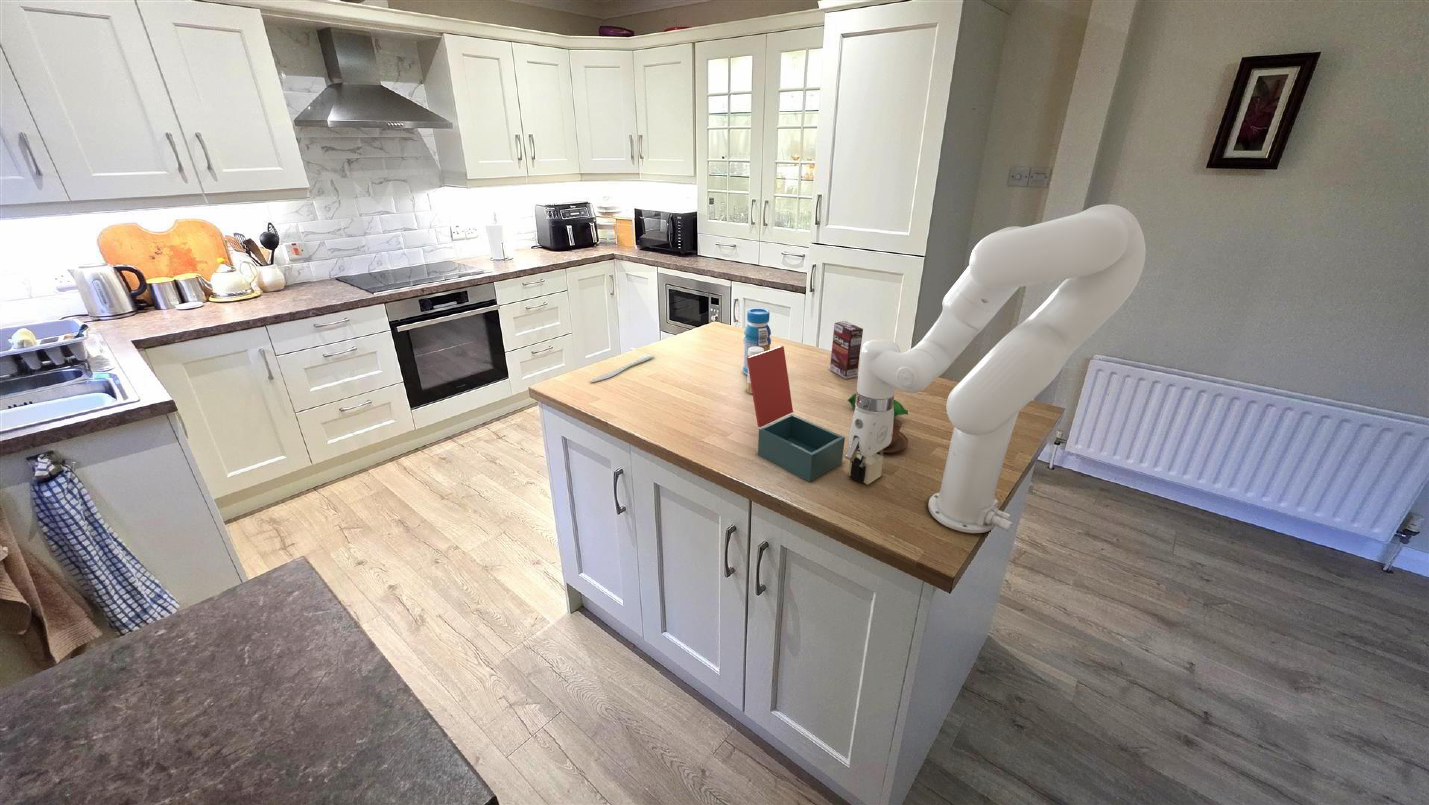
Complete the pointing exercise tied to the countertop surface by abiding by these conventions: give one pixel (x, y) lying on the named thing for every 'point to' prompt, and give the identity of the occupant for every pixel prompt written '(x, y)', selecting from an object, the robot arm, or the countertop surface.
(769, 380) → the lid
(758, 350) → the sprinkles bottle
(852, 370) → the supplement box
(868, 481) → the block
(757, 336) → the beverage bottle
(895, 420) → the cup and saucer
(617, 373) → the butter knife
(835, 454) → the open box
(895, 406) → the snack package
